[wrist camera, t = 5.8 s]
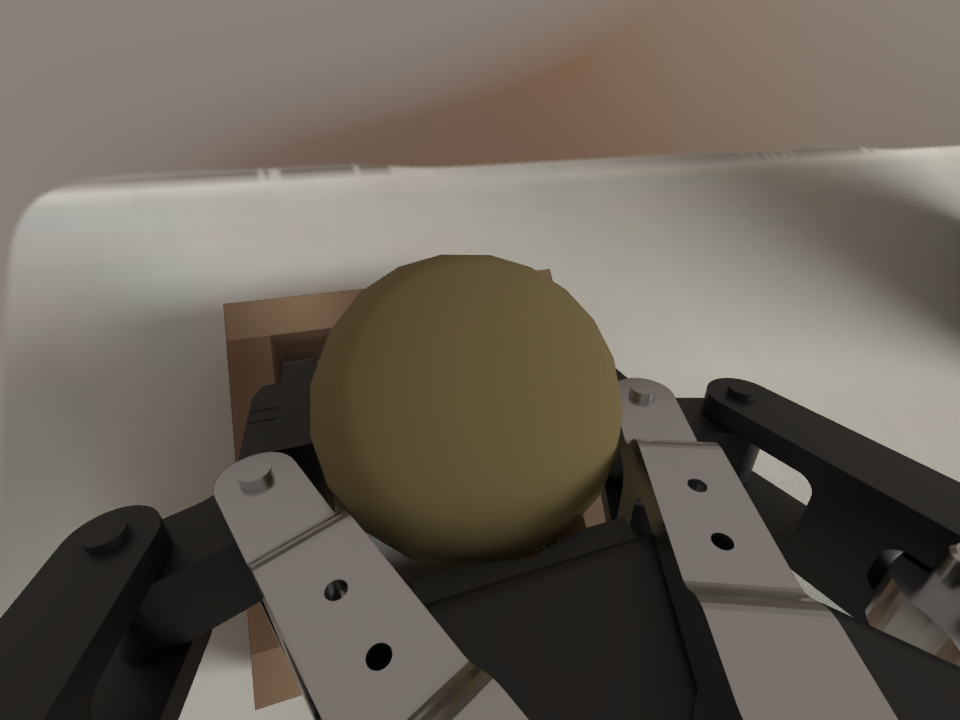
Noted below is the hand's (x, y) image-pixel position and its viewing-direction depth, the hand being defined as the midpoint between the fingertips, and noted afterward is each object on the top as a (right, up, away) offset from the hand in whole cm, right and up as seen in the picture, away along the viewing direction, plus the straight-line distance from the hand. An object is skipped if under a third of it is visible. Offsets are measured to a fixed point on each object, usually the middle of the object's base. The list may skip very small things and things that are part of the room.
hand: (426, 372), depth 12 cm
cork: (-1, -3, +5) cm, 6 cm away
